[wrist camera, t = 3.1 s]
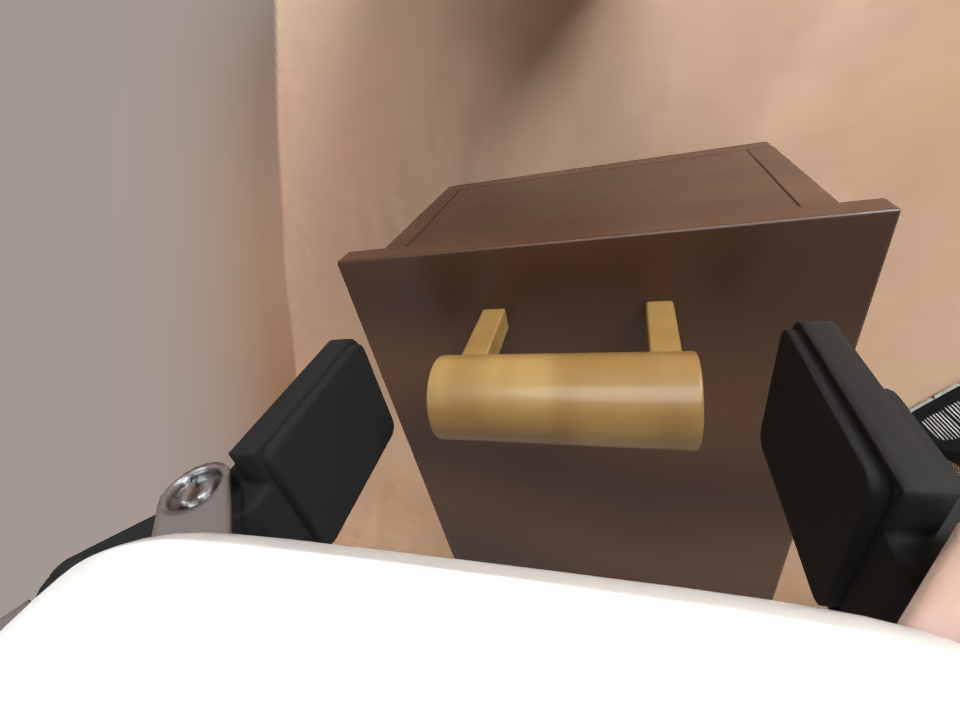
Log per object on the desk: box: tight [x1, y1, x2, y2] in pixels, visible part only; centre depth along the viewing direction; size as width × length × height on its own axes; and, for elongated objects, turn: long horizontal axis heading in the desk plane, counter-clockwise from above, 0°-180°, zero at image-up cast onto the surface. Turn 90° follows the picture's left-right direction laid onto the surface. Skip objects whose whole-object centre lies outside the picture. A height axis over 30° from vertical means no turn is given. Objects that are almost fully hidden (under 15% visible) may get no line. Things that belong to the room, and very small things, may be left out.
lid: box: [338, 198, 900, 600], centre depth 15 cm, size 18×14×5 cm
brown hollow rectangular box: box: [385, 142, 839, 249], centre depth 21 cm, size 17×14×10 cm
